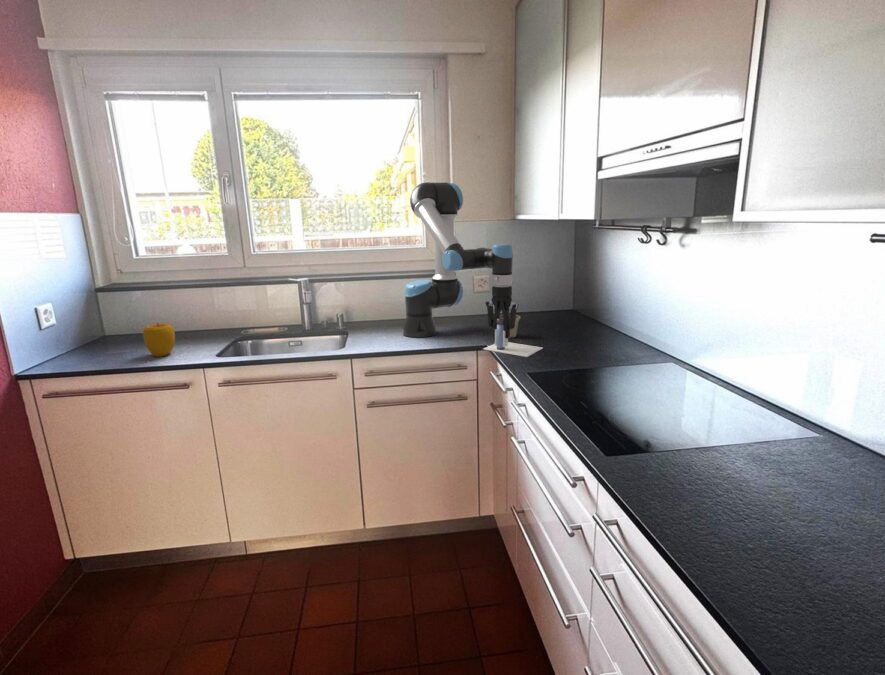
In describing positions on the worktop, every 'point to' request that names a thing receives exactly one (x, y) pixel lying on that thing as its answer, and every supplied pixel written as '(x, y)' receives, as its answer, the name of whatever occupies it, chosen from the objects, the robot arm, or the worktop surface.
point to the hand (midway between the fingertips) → (501, 345)
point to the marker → (500, 333)
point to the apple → (159, 339)
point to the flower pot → (514, 330)
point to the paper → (515, 349)
